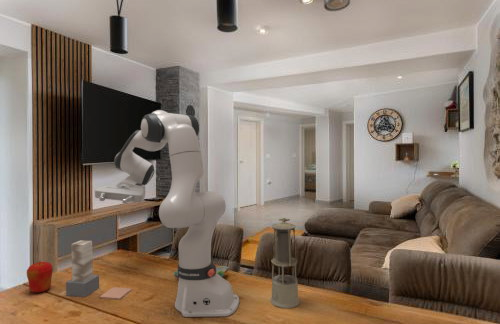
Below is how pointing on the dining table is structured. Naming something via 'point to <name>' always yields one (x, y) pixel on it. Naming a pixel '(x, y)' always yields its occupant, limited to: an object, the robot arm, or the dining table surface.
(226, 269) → the puzzle game
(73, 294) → the charcoal plinth
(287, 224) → the lamp
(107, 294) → the terracotta tile
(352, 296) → the dining table surface
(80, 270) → the cream block
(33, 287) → the apple
